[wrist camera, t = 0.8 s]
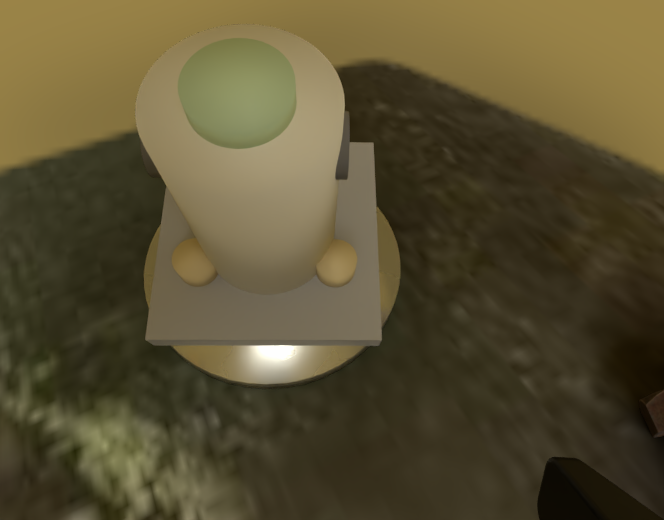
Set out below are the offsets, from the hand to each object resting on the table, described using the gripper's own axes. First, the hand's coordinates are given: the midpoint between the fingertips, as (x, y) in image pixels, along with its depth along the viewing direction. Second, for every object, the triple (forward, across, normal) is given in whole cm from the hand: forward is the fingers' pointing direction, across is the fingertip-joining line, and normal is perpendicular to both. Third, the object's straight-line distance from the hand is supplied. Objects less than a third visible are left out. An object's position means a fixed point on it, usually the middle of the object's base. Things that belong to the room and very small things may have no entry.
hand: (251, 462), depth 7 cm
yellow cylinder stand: (+17, +2, +2) cm, 17 cm away
